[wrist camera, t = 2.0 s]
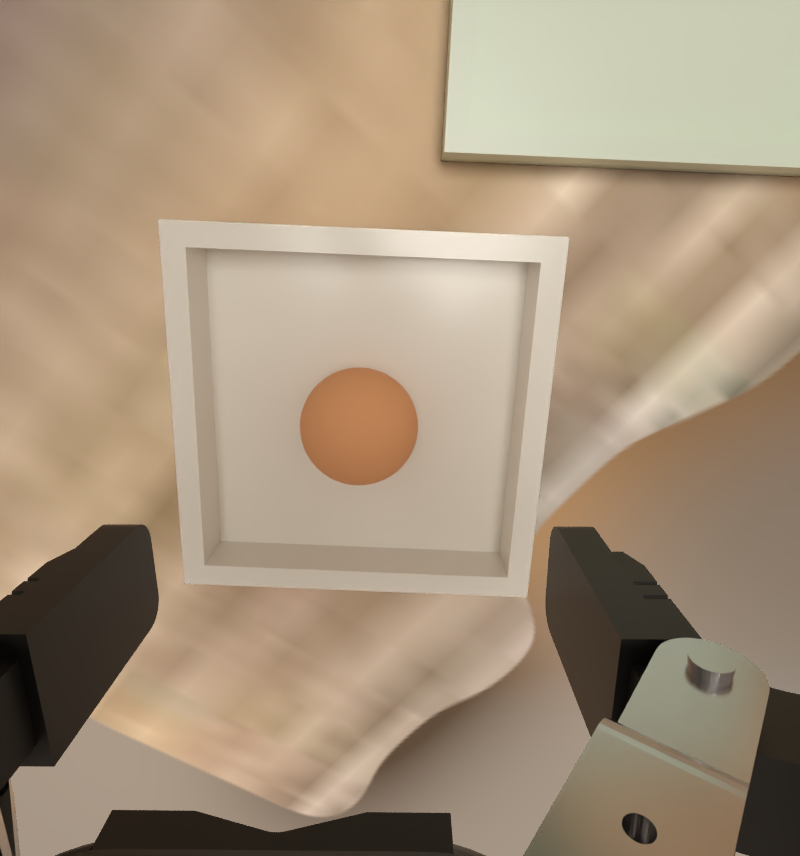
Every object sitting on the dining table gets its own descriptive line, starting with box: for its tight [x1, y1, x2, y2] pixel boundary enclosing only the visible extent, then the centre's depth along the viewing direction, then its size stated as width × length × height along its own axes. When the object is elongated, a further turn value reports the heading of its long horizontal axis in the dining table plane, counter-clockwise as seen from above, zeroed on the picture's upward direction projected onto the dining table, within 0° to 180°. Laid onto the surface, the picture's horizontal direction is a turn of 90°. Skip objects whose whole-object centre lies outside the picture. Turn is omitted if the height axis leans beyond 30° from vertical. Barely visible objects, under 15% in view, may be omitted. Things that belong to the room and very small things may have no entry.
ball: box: [300, 368, 418, 485], centre depth 24 cm, size 5×5×5 cm
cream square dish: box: [158, 219, 569, 597], centre depth 26 cm, size 16×16×3 cm
